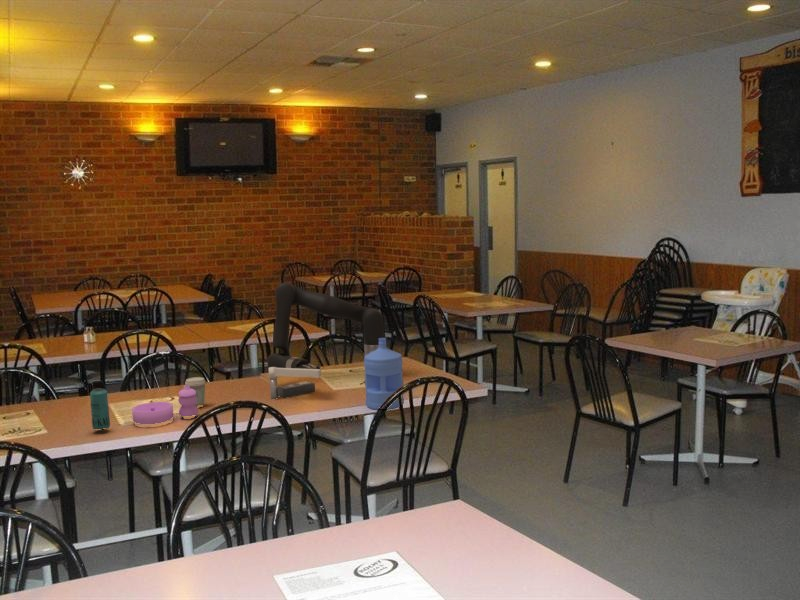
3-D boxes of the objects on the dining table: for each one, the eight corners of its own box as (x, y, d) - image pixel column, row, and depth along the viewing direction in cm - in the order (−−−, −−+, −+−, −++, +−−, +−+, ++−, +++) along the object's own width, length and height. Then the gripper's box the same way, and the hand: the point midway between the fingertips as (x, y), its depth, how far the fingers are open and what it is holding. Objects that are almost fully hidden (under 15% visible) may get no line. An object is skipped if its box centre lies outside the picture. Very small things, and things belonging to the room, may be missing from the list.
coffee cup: (182, 408, 331) (180, 381, 330) (194, 403, 339) (192, 376, 337) (199, 410, 328) (197, 382, 326) (211, 404, 336) (209, 377, 334)
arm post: (272, 397, 344) (270, 377, 343) (278, 397, 344) (277, 377, 342) (270, 399, 341) (268, 379, 340) (277, 399, 341) (275, 379, 339)
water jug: (367, 400, 333) (364, 335, 329) (404, 399, 332) (402, 334, 328) (364, 411, 318) (361, 342, 314) (403, 410, 317) (400, 341, 313)
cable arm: (267, 378, 340) (266, 368, 339) (271, 376, 343) (270, 366, 343) (318, 380, 332) (317, 370, 332) (321, 378, 336) (321, 368, 335)
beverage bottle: (95, 430, 305) (90, 379, 302) (113, 428, 306) (108, 378, 303) (90, 435, 299) (85, 383, 296) (108, 434, 299) (103, 382, 296)
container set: (134, 430, 303) (131, 396, 301) (132, 420, 317) (129, 388, 316) (200, 421, 312) (198, 388, 310) (196, 412, 326) (194, 380, 324)
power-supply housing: (284, 398, 342) (283, 388, 341) (277, 396, 346) (276, 386, 346) (315, 391, 352) (314, 382, 351) (308, 389, 356) (307, 380, 356)
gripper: (284, 360, 345) (305, 366, 331) (310, 355, 353) (331, 361, 340) (285, 377, 346) (306, 383, 332) (310, 372, 354) (332, 378, 341)
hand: (319, 372), depth 336 cm, fingers closed
